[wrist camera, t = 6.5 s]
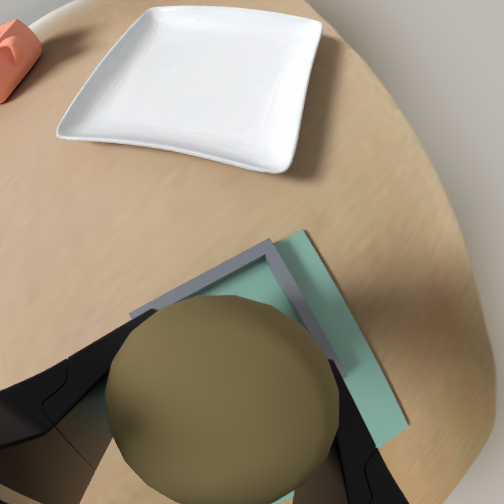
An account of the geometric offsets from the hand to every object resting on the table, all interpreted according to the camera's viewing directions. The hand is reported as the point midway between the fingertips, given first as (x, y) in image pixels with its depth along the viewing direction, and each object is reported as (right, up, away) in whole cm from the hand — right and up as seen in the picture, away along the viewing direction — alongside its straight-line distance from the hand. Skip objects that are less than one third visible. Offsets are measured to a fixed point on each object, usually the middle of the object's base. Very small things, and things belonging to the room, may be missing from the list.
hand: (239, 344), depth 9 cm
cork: (-1, -3, +6) cm, 7 cm away
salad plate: (-5, +20, +17) cm, 26 cm away
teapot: (-36, +29, +18) cm, 49 cm away
